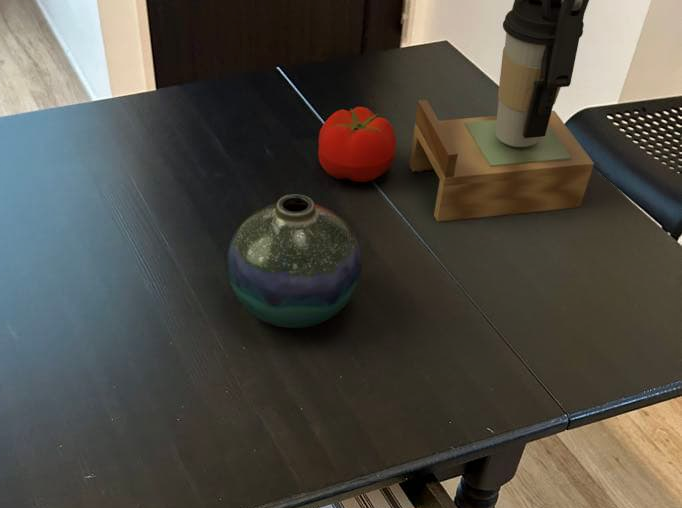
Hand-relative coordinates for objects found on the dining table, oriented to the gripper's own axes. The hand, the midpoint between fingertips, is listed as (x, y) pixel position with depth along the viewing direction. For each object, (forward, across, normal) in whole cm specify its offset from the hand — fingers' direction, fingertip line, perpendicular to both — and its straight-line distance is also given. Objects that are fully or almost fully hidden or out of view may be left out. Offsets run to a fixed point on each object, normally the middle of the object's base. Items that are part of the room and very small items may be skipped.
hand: (521, 118), depth 107 cm
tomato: (+9, -7, -20) cm, 23 cm away
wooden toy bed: (+9, 0, -2) cm, 9 cm away
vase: (+9, +21, -34) cm, 41 cm away
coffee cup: (+2, 0, 0) cm, 2 cm away
